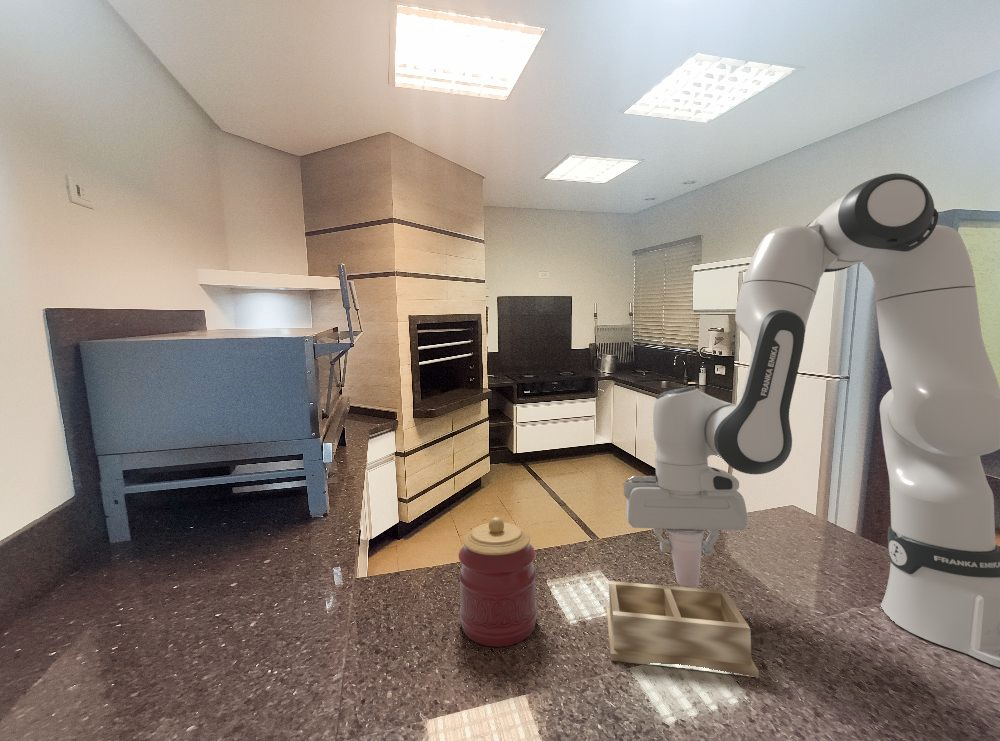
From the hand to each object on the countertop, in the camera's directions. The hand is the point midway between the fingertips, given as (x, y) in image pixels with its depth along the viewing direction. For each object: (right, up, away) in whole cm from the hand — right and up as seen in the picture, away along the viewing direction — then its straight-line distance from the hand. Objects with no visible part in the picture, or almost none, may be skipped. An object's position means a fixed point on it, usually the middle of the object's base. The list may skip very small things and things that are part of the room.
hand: (686, 551), depth 72 cm
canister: (-34, -9, -6) cm, 36 cm away
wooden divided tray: (-7, -9, -11) cm, 16 cm away
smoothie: (0, -6, 0) cm, 6 cm away
